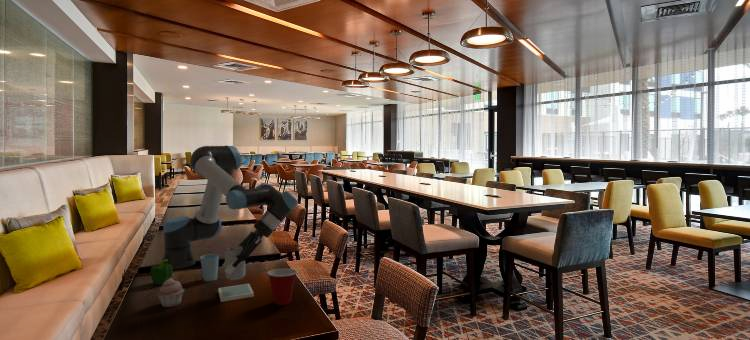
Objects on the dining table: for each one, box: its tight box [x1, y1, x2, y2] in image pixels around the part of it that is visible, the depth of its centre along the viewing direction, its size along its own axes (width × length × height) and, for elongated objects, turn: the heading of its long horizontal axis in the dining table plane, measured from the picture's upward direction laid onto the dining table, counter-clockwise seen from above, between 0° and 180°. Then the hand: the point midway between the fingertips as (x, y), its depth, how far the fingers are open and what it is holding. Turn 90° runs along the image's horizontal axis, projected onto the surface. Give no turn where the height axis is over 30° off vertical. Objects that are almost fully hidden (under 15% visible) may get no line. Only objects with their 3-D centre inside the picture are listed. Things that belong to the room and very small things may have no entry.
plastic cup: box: [267, 268, 298, 306], centre depth 152 cm, size 11×11×12 cm
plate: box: [217, 283, 255, 303], centre depth 162 cm, size 12×12×2 cm
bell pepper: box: [150, 260, 174, 286], centre depth 176 cm, size 8×8×10 cm
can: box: [224, 245, 247, 281], centre depth 161 cm, size 8×8×12 cm
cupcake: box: [156, 277, 185, 308], centre depth 152 cm, size 9×9×10 cm
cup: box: [199, 253, 220, 282], centre depth 180 cm, size 8×8×10 cm
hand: (226, 269), depth 160 cm, fingers closed on can, 7 cm apart
